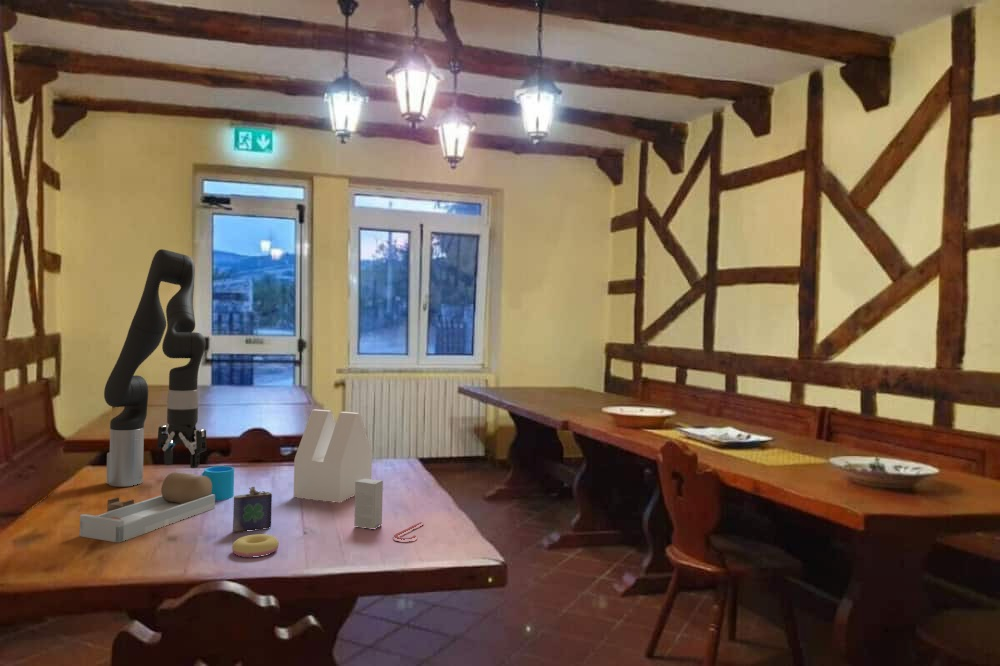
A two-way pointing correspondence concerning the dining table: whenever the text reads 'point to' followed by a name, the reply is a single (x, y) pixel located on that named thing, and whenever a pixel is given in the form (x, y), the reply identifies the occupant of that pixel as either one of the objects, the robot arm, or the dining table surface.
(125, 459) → the robot arm
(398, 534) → the candy cane
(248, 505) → the flask
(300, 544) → the dining table surface
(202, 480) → the lane
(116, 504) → the brown wooden bracket block
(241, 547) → the donut
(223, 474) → the mug
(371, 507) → the skincare box
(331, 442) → the white slotted block
